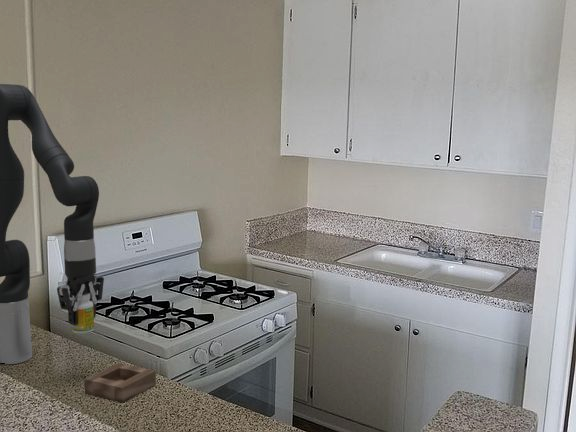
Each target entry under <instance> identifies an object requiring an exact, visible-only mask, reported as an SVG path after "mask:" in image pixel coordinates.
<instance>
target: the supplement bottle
mask: <svg viewBox="0 0 576 432" xmlns="http://www.w3.org/2000/svg"><path fill="white" fill-rule="evenodd" d="M73 298H76V296H73ZM89 299H90V293H87V294H84V295H82V297H81V301H80V302H79V303H78V307H77V311H78V324H77V325H71V331H72V332H73V333H74V334H81V335H82V334H90V333H91V332H93V331H94V330H95V318H94V310H93V302H92V301H90V300H89ZM73 303H74V301H73ZM73 303H72V306H73Z"/></svg>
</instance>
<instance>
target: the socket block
mask: <svg viewBox="0 0 576 432" xmlns="http://www.w3.org/2000/svg"><path fill="white" fill-rule="evenodd" d="M156 374H157V373H156V370H153V369H148V368H144V367H139V366H134V365H129V364H125V363H120V362H118V363H116V364H114V365H112V366H109V367H107V368H105V369H103V370H101V371H98V372H96V373H94V374H92V375H90V376H87V377H85V378H84V380H83V381H84V394H87V395H90V396H95V397H98V398H102V399H106V400H111V401H113V402H114V401H115V402H119V403H125V402H127V401H129V400H131V399H132V398H134V397H136V396H138V395H140V394H141V393H143V392H145V391H147V390H149V389H151V388H152V387H154V386H156V385H157V381H156V379H157V375H156Z"/></svg>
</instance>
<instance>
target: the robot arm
mask: <svg viewBox="0 0 576 432" xmlns="http://www.w3.org/2000/svg"><path fill="white" fill-rule="evenodd" d="M9 121H21V122H22V123H23V124H24V125H25V126H26V127H27V128H28V129H29V132H30V134H31V150H32V153H33V155H34V158H35V160H36V161H37V163H38V164H39V166H40V167H41V169H42V170H43V171H44V172H45V174H46V175H47V177H48V181H49V183H50V187H51V189H52V192H53V194H54V197H55V199H56V200H57V202H59V203H60V205H63V206H65V207H75V210H74V212H73V213H71V214H68V215H67V216H66V217H65V218H64V221H63V237H64V243H63V258H64V261H63V262H64V275H65V276H66V279H67V280H66V283H65V285H63V286H58V287H57V288H56V292H57V296H58V302H59V306H60V309H61V310H63V311H64V310H65V311H67V313H68V314H67V316H68V323H69V324H70V325H71V326H72V325H77V324H78V311H77V307H78V303H79V302H80V301H81V297H82V295H84V294H87V293H90V299H89V300H90V301H92V302H93V310H94V319H95V318H96V316H97V315H96V314H97V303H98V302H99V301H101V300H102V299H103V291H104V281H105V278H104V277H103V276H99V275H96V274H97V265H96V264H97V263H96V262H97V257H96V243H95V232H94V220H95V216H96V214H97V213H96V212H97V208H98V204H99V199H100V191H99V186H98V183H97V182H96V180H95V179H94V178H93V177H92V176H89V175H81V176H72V177H71V176H70V175H72V173H73V172H74V170H75V163H74V161H73V160H72V158H71V157H70V154H68V152H67V151H66V150H65V149H64V147H63V146H62V145H61V144H60V142H59V141H58V138H57V137H56V136H55V134H54V132H53V131H52V129H51V127H50V126H49V125H50V124H49V123H48V121H47V119H46V117H45V114H44V113H43V111H42V110H41V108H40V106H39V103H38V101H37V100H36V98H35V96H34V94H33V93H32V92H31V90H30V89H29V88H28V87H27V86H24V85H21V84H9V83H8V84H7V83H0V278H2V277H4V279H3V280H2V281H1V283H0V362H1V363H5V364H4V365H16V364H21V363H24V362H27V361H29V360H31V359H32V358H33V349H32V335H31V334H32V332H31V319H30V318H31V317H30V307H29V305H30V303H29V290H30V288H31V287H30V286H31V273H30V272H31V271H30V270H31V263H30V262H31V261H30V253H29V250H28V247H27V246H26V243H24V241H22V240H19V239H10V240H6V239H7V233H8V232H7V231H8V227H9V224H10V223H11V220H12V219H13V217H14V215H15V214H16V212H17V210H18V208H20V205H21V202H22V200H23V197H24V194H25V193H24V192H25V169H24V167H23V164H22V162H21V161H20V159H19V157H18V155H17V154H16V152H15V150H14V149H13V146H12V144H11V142H10V137H9ZM74 296H76V298H74ZM73 302H74V303H73ZM72 303H73V306H72Z"/></svg>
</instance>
